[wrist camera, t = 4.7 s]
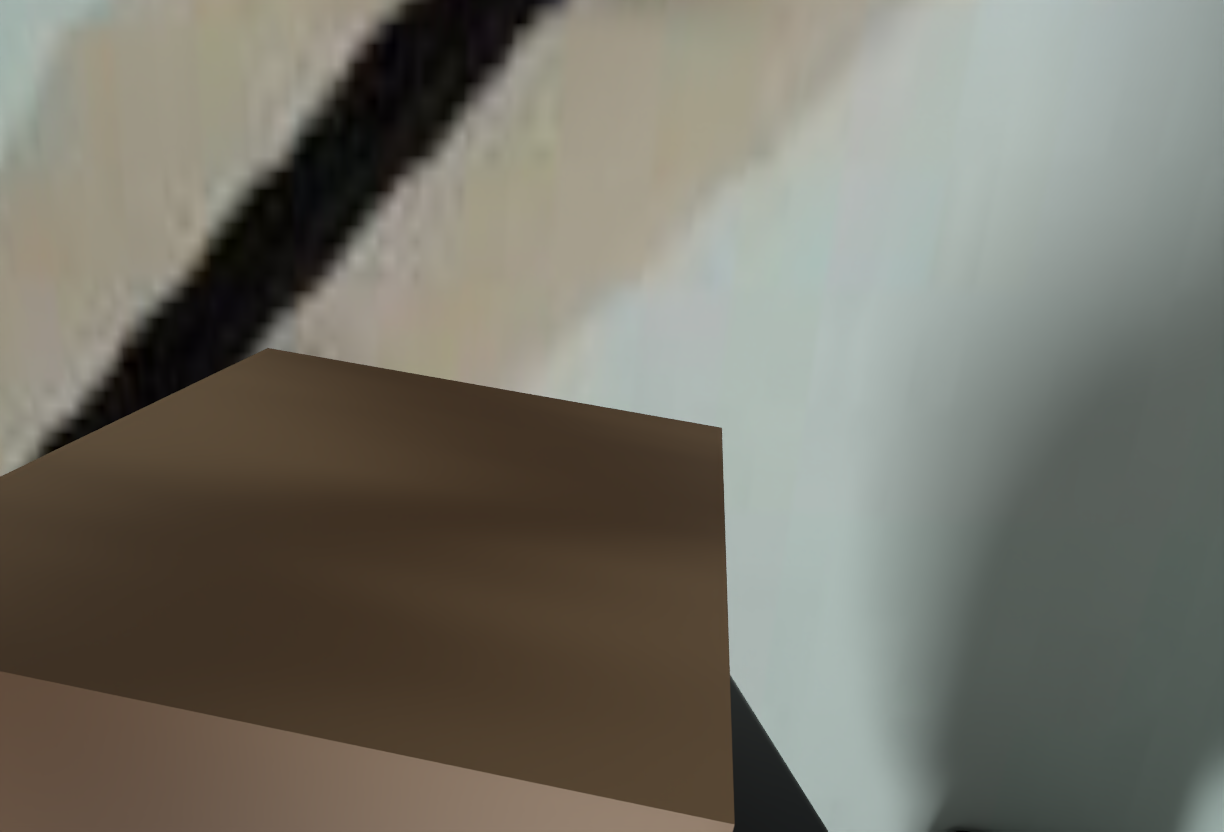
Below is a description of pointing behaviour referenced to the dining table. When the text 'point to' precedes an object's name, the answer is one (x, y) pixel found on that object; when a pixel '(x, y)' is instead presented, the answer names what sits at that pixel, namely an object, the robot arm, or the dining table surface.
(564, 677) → the walnut cube
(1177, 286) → the dining table surface
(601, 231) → the dining table surface
